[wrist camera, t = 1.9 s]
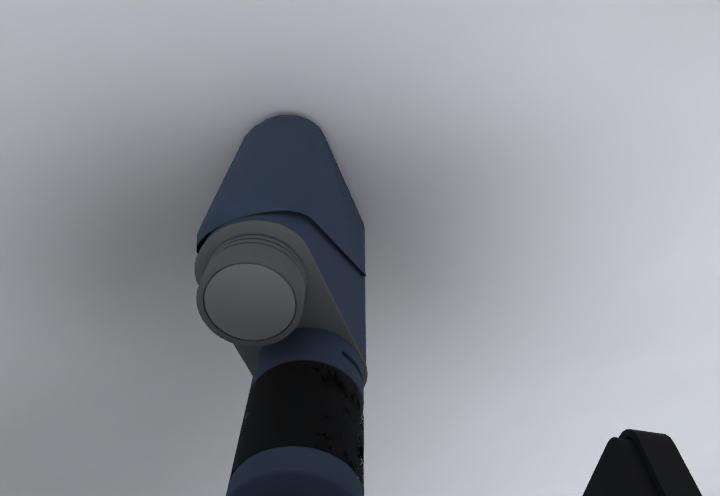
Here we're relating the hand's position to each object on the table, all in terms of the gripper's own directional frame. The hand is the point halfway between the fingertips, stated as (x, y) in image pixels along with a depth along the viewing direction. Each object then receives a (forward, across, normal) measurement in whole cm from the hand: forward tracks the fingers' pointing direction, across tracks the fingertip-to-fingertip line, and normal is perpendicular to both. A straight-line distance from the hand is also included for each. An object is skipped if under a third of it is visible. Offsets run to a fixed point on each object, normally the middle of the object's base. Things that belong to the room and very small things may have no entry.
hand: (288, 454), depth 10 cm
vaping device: (+12, +1, +1) cm, 12 cm away
